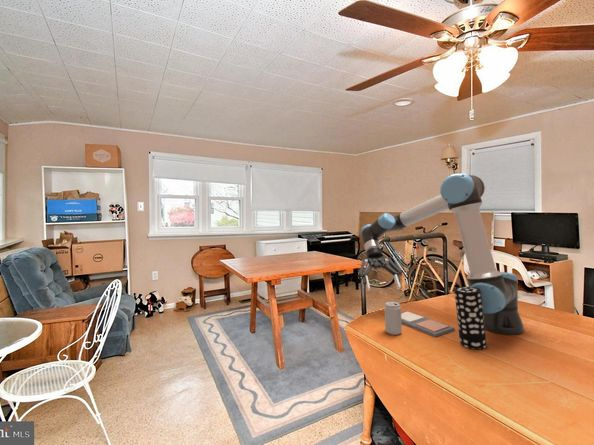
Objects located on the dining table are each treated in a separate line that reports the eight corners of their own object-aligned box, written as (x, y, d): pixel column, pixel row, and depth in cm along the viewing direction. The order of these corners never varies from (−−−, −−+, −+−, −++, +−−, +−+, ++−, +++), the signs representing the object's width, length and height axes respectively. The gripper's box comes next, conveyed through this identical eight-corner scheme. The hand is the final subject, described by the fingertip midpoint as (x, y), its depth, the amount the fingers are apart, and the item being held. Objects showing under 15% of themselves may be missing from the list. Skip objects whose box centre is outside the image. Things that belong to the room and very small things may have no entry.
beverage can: (402, 336, 114) (402, 306, 113) (386, 335, 115) (385, 305, 114) (400, 329, 120) (399, 301, 119) (384, 328, 121) (383, 301, 121)
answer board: (454, 330, 117) (454, 326, 117) (435, 337, 111) (435, 333, 111) (407, 313, 138) (407, 310, 138) (389, 318, 132) (389, 315, 132)
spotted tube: (478, 351, 99) (471, 294, 98) (455, 343, 106) (449, 290, 106) (491, 343, 102) (485, 289, 102) (468, 336, 110) (463, 285, 109)
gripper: (396, 254, 145) (409, 292, 130) (347, 256, 144) (355, 294, 130) (400, 245, 139) (414, 283, 125) (349, 247, 139) (357, 285, 124)
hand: (384, 289), depth 127 cm, fingers open, 13 cm apart
